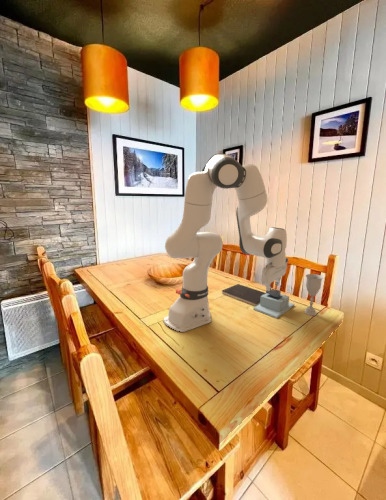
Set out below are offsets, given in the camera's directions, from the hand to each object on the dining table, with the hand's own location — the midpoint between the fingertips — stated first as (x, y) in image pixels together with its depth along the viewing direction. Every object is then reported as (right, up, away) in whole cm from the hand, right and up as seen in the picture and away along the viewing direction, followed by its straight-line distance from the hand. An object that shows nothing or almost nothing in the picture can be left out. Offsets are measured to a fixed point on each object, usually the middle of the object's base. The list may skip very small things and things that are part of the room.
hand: (273, 287), depth 112 cm
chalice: (+16, -11, -5) cm, 20 cm away
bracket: (+1, -9, 0) cm, 9 cm away
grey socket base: (+1, -10, 0) cm, 10 cm away
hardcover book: (-10, -8, +15) cm, 19 cm away
